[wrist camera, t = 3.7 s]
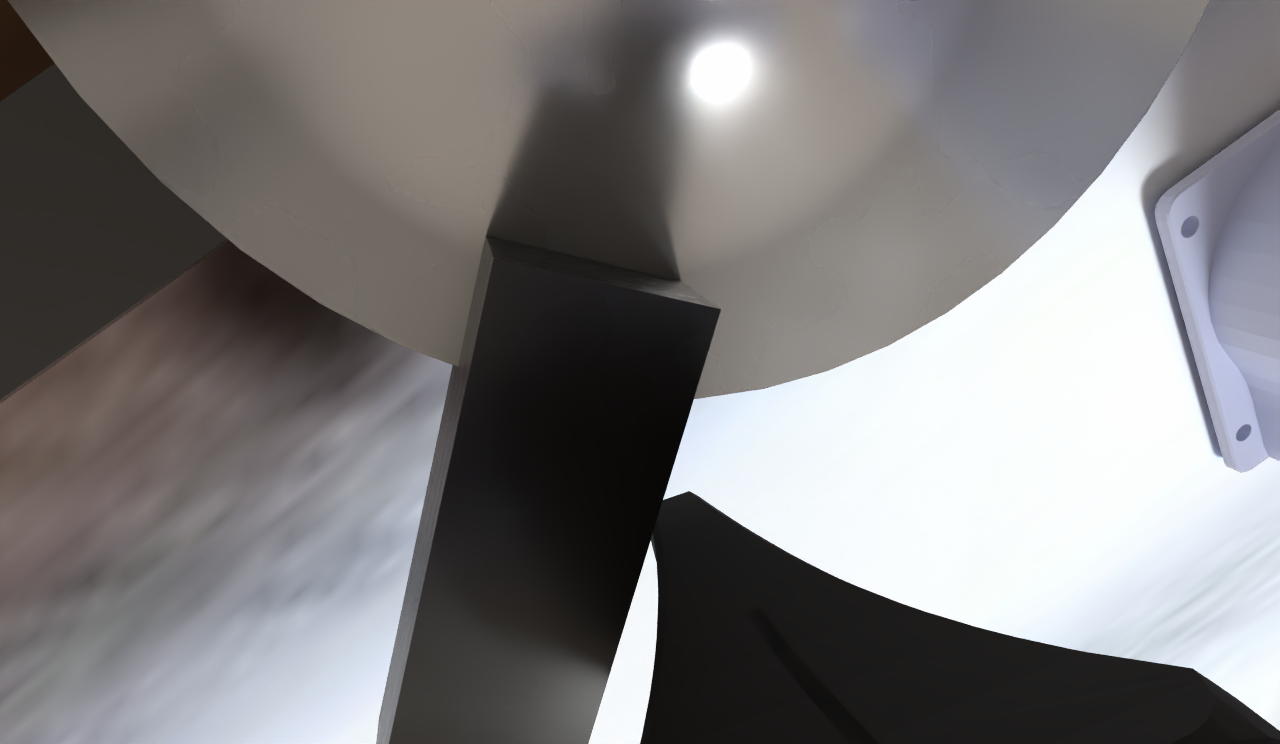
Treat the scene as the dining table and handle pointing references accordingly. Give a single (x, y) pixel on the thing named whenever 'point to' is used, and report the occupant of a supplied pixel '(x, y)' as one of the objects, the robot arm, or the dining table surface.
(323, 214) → the cooker lid
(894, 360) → the dining table surface
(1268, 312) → the robot arm
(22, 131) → the cooker pot
